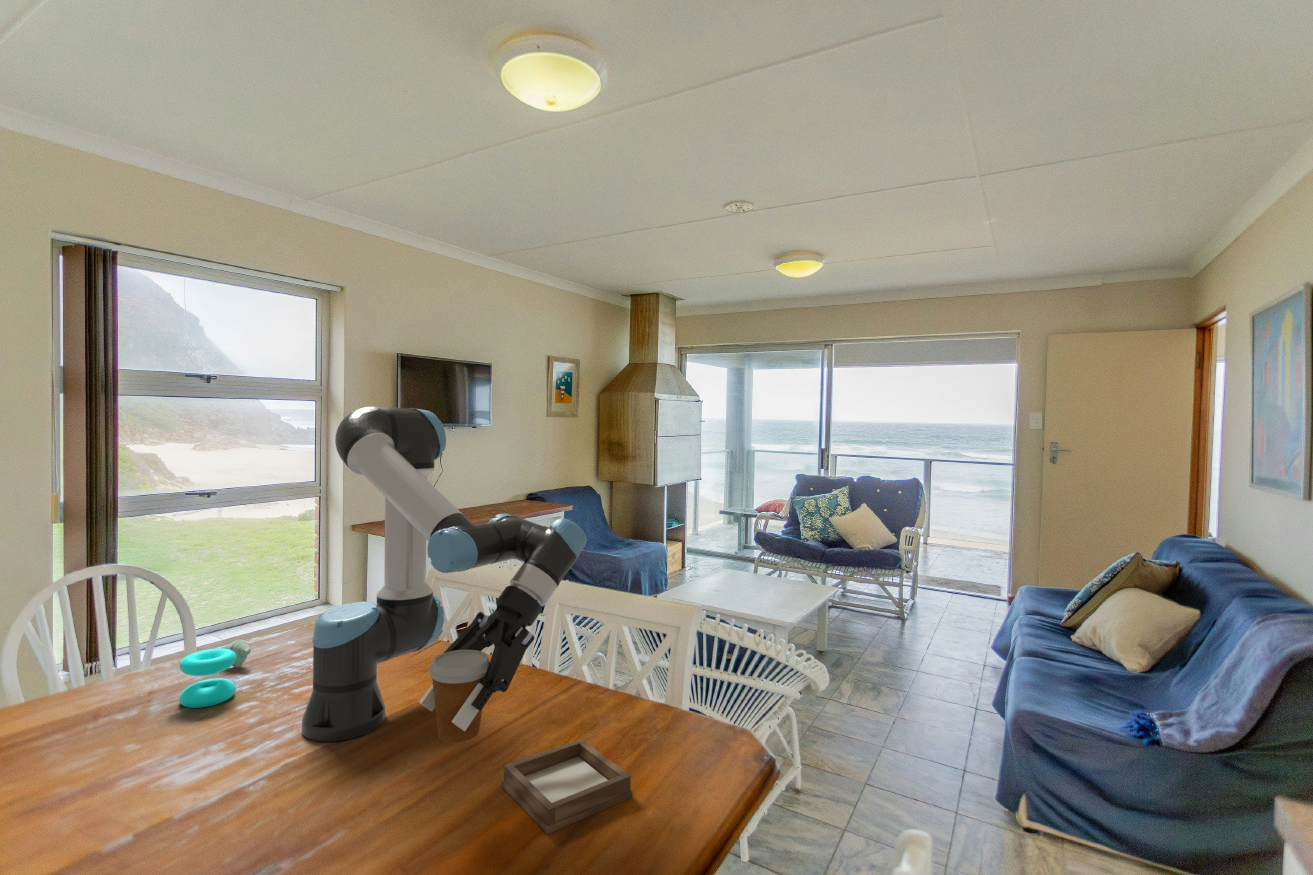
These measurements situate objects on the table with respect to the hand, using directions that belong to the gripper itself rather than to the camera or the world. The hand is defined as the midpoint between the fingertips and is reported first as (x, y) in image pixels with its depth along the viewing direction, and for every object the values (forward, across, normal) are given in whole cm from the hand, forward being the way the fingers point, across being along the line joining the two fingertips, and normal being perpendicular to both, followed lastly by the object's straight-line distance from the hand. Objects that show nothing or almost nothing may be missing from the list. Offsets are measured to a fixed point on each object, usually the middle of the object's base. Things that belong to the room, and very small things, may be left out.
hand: (441, 716), depth 98 cm
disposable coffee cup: (+1, 0, -5) cm, 5 cm away
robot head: (+13, +89, -10) cm, 91 cm away
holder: (-2, -10, -23) cm, 25 cm away
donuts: (+20, +73, -3) cm, 76 cm away
